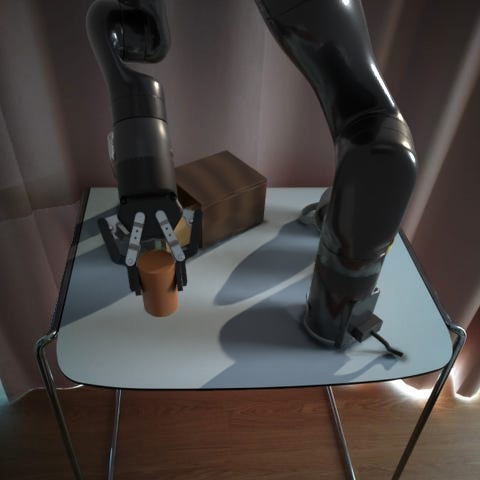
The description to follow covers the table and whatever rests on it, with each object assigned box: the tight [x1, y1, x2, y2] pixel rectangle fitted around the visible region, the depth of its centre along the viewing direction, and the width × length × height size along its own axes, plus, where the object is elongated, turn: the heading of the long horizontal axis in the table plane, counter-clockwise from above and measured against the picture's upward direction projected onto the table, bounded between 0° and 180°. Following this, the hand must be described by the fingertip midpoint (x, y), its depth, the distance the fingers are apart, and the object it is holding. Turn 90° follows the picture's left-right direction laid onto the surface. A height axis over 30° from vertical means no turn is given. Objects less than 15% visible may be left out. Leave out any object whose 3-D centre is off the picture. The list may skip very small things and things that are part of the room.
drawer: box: [113, 188, 199, 253], centre depth 89 cm, size 18×11×8 cm, turn 127°
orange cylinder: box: [137, 249, 179, 318], centre depth 66 cm, size 5×5×8 cm
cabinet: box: [174, 149, 268, 249], centre depth 94 cm, size 15×13×10 cm
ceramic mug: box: [299, 185, 333, 233], centre depth 95 cm, size 11×8×8 cm
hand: (159, 292), depth 65 cm, fingers closed on orange cylinder, 5 cm apart
